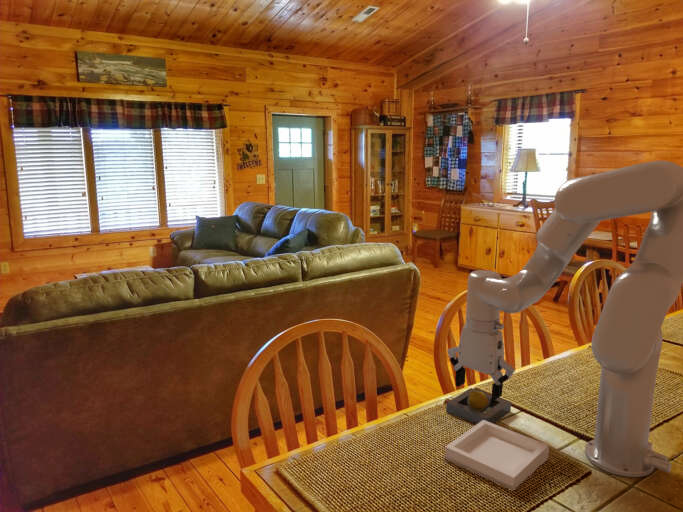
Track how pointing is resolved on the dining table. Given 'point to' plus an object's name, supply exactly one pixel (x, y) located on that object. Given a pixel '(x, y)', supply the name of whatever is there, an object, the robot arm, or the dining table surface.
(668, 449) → the dining table surface
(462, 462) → the tray
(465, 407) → the socket collar
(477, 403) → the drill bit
